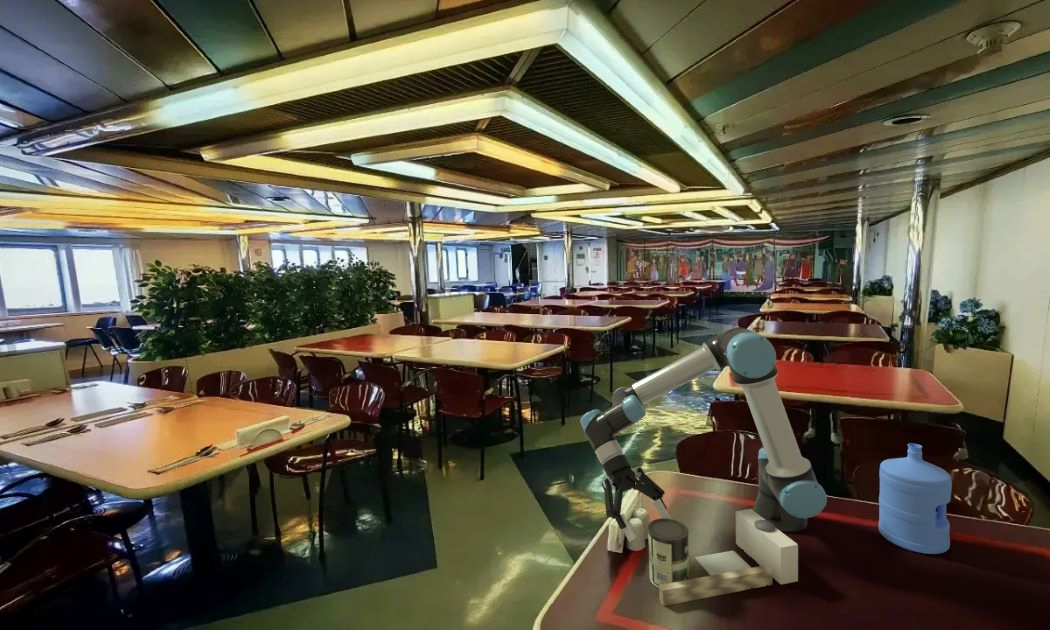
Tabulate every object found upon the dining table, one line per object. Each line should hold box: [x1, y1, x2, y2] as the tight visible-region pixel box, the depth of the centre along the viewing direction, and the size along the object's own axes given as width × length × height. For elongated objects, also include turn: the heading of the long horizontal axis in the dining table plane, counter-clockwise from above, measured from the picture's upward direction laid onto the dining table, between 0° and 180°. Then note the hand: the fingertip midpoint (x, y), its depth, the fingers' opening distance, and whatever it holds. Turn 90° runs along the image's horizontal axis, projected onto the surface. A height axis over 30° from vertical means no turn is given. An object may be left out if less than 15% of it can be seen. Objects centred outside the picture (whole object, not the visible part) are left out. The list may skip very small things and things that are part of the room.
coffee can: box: [646, 518, 690, 589], centre depth 119 cm, size 10×10×14 cm
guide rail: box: [658, 565, 773, 607], centre depth 114 cm, size 30×2×4 cm, turn 100°
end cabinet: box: [694, 508, 799, 585], centre depth 123 cm, size 20×18×11 cm
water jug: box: [878, 442, 953, 555], centre depth 129 cm, size 16×16×28 cm
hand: (651, 531), depth 123 cm, fingers open, 13 cm apart
